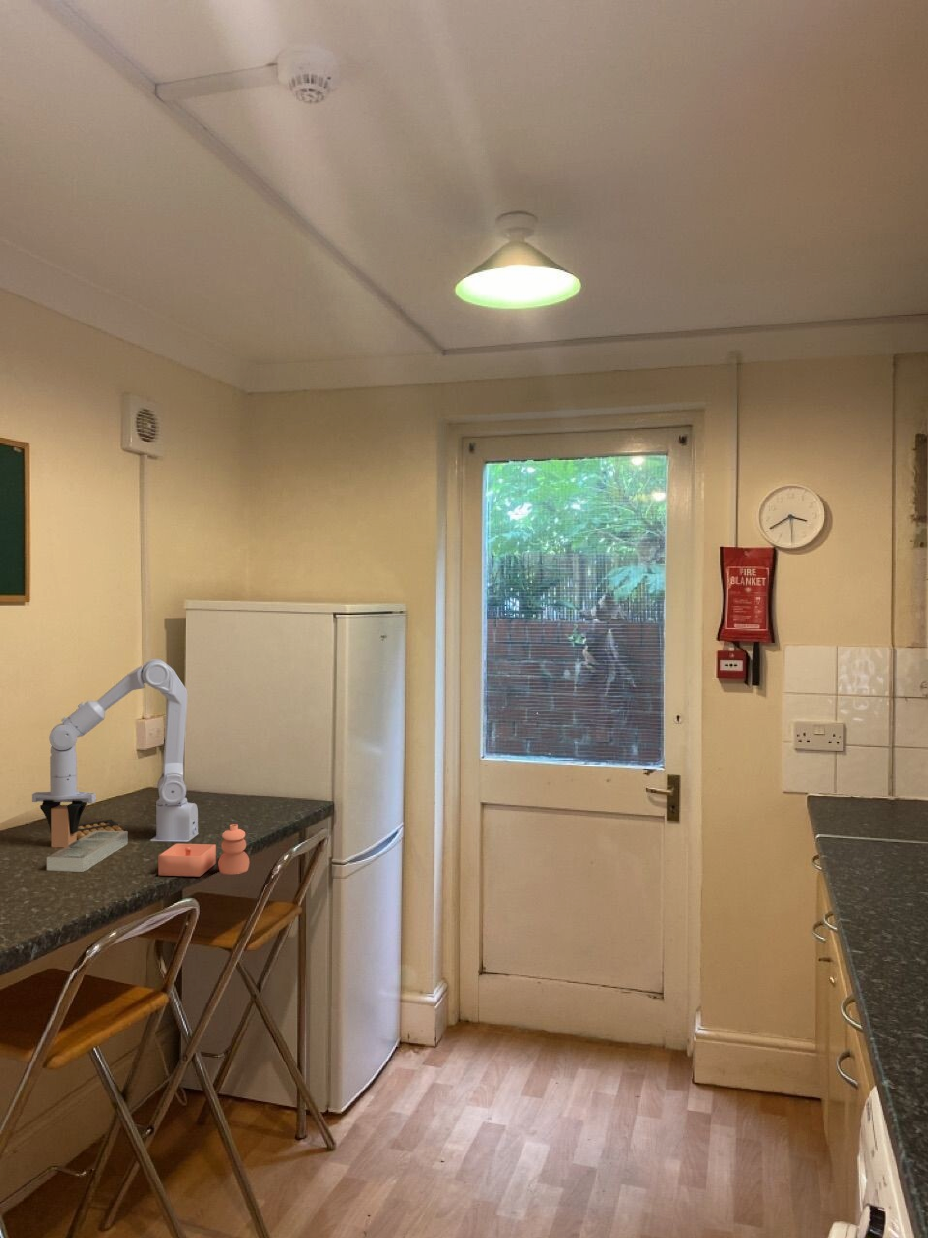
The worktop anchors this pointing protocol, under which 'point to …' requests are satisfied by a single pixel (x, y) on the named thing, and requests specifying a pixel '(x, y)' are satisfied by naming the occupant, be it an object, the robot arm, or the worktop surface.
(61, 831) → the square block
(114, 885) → the worktop surface
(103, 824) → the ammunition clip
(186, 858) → the pottery
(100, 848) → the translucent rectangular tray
